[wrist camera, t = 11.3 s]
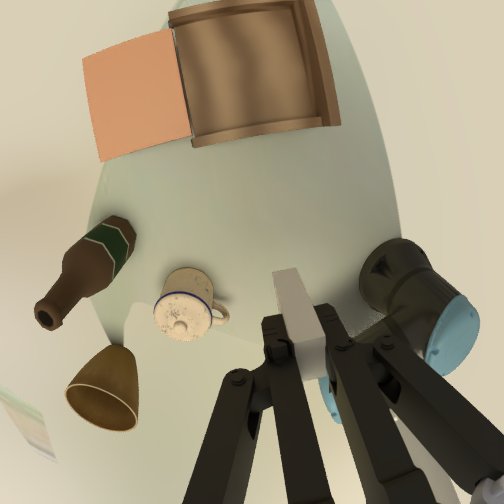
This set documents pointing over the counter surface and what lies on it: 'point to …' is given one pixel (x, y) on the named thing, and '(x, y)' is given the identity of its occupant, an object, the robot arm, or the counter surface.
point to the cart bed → (254, 68)
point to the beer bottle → (87, 269)
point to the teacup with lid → (187, 306)
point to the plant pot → (107, 390)
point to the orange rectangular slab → (136, 95)
